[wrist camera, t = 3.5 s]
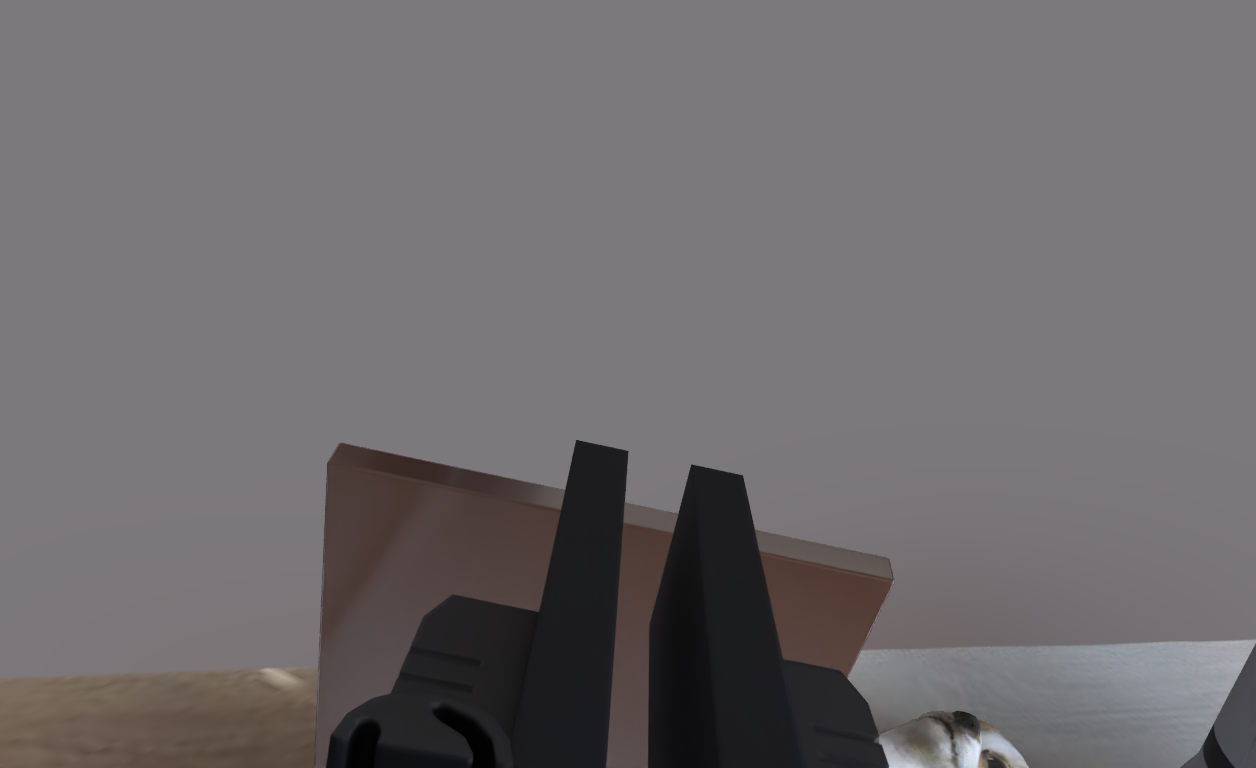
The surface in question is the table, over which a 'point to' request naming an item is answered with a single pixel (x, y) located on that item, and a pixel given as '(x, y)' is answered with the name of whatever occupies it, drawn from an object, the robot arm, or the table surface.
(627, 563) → the caddy lid
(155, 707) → the table surface
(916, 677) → the table surface
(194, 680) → the table surface
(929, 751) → the ceramic sculpture
